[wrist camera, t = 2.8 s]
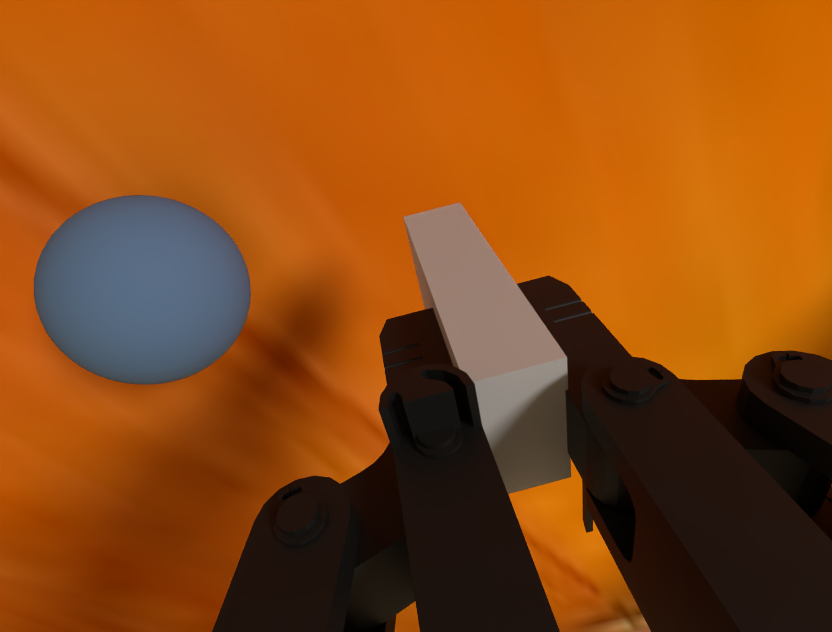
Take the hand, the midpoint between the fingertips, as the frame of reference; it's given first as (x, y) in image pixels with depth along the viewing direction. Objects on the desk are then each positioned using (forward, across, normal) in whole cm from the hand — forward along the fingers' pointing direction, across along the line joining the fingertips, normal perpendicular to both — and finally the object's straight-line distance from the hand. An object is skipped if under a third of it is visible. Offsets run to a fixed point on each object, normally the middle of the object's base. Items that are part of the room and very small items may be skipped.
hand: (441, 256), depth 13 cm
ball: (+3, +9, 0) cm, 10 cm away
